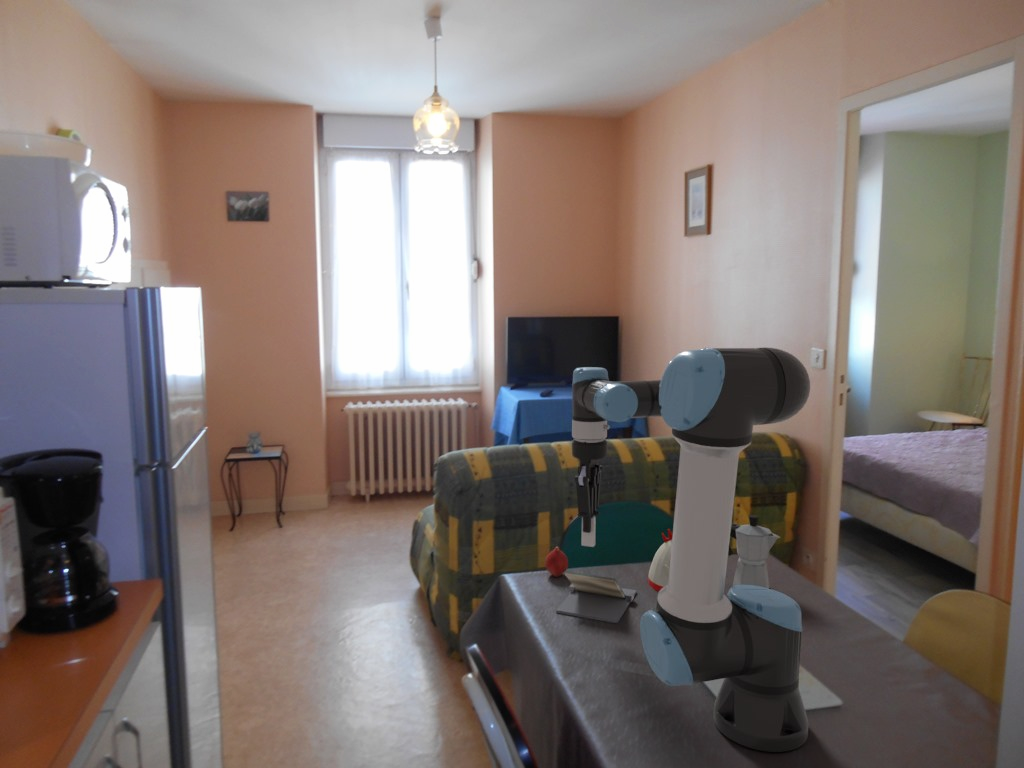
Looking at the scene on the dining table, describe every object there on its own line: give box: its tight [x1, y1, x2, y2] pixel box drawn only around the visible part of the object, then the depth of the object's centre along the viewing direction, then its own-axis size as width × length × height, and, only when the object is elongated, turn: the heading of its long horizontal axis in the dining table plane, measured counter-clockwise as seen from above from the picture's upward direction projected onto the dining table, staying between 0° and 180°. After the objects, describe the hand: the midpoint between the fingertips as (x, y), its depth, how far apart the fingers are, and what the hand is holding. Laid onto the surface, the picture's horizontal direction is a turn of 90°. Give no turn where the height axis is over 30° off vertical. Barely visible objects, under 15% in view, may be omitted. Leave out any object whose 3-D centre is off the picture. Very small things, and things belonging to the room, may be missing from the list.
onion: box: [544, 546, 569, 578], centre depth 181 cm, size 6×6×8 cm
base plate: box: [555, 587, 637, 624], centre depth 166 cm, size 18×14×1 cm
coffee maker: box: [728, 514, 781, 589], centre depth 175 cm, size 15×9×18 cm, turn 58°
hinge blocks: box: [568, 583, 635, 603], centre depth 169 cm, size 2×15×1 cm, turn 67°
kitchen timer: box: [647, 528, 673, 592], centre depth 176 cm, size 14×14×15 cm
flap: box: [564, 570, 626, 599], centre depth 164 cm, size 13×12×1 cm
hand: (588, 545), depth 157 cm, fingers closed
